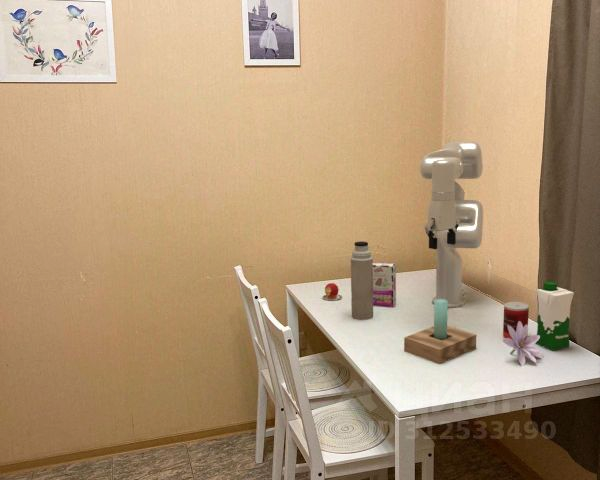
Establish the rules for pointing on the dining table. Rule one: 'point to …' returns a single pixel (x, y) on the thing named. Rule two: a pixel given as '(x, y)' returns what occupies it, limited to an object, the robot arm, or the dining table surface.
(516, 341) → the water lily
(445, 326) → the peg
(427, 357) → the socket block
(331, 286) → the apple
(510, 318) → the canned food
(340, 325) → the dining table surface
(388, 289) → the candy bar box
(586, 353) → the dining table surface
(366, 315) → the thermos bottle
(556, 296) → the milk carton
